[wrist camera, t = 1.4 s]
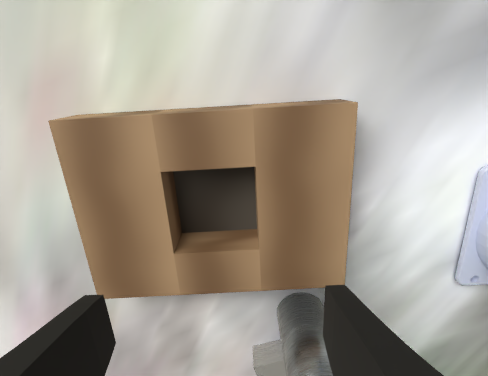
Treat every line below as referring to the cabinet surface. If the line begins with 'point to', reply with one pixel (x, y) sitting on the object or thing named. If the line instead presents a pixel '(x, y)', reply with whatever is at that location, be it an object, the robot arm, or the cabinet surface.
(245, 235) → the socket block
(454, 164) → the cabinet surface
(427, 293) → the cabinet surface
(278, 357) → the blade bit
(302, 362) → the dowel bit
